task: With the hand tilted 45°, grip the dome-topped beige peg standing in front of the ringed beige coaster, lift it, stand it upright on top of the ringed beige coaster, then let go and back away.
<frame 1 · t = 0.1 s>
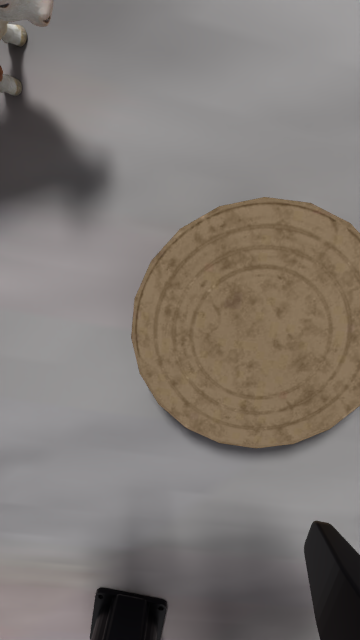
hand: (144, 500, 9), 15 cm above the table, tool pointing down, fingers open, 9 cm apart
ringed beige coaster: (251, 321, 23), on the table
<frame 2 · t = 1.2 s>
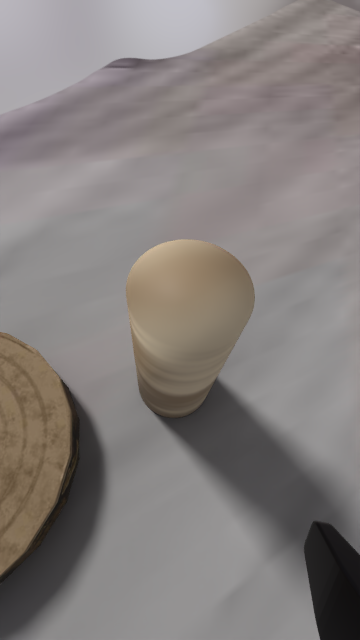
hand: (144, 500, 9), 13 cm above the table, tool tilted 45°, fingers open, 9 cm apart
dome-topped beige peg: (173, 382, 24), on the table
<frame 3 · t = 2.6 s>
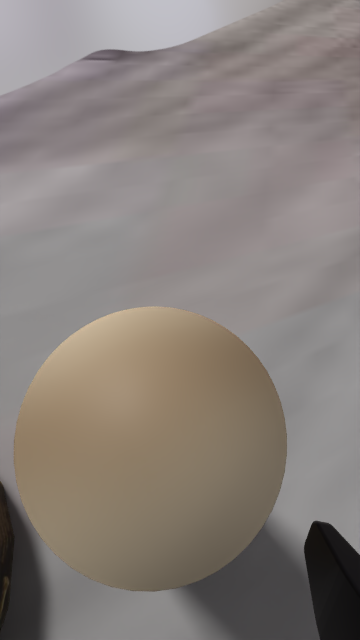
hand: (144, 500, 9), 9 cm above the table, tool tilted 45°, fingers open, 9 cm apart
dome-topped beige peg: (153, 471, 17), on the table
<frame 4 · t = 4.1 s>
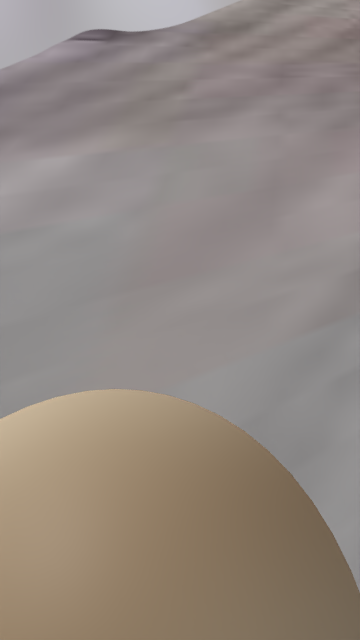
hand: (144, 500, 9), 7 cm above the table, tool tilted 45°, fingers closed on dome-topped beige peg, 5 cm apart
dome-topped beige peg: (140, 536, 14), on the table, touching gripper
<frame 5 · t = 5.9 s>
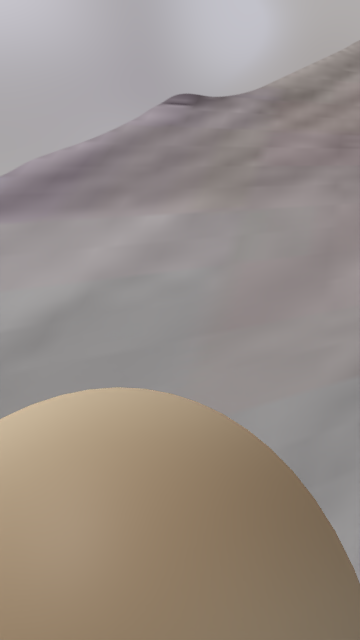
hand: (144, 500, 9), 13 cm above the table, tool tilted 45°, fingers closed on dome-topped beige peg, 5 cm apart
dome-topped beige peg: (141, 535, 14), point 7 cm above the table, touching gripper
when the fingers open (11 cm above the table, at t = 7.8 s): dome-topped beige peg drops 1 cm, resting on ringed beige coaster.
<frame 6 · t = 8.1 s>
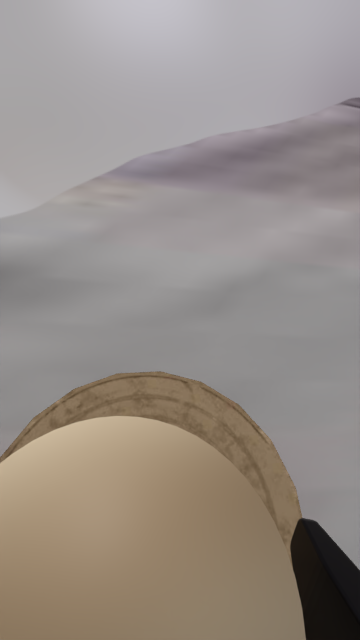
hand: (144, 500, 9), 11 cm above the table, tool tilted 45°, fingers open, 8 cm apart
dome-topped beige peg: (143, 533, 15), point 3 cm above the table, touching ringed beige coaster
ringed beige coaster: (143, 526, 18), on the table, touching dome-topped beige peg
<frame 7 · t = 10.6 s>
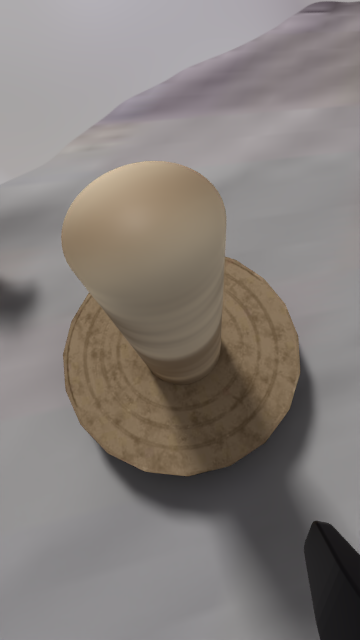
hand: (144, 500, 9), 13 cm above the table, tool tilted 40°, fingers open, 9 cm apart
dome-topped beige peg: (181, 345, 21), point 3 cm above the table, touching ringed beige coaster
ringed beige coaster: (181, 359, 25), on the table, touching dome-topped beige peg
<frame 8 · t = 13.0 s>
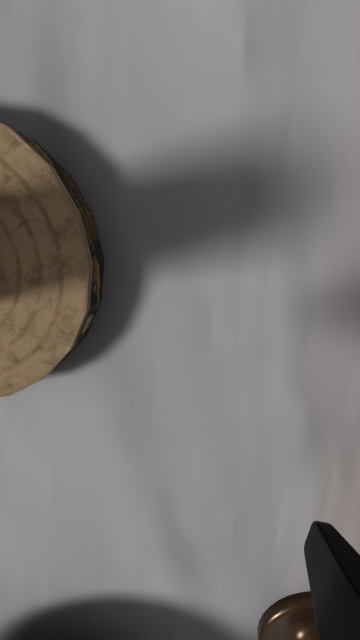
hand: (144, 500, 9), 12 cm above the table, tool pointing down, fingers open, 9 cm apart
candlestick: (313, 630, 26), on the table
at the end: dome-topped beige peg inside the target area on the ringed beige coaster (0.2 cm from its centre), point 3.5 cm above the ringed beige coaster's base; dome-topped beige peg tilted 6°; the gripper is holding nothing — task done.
